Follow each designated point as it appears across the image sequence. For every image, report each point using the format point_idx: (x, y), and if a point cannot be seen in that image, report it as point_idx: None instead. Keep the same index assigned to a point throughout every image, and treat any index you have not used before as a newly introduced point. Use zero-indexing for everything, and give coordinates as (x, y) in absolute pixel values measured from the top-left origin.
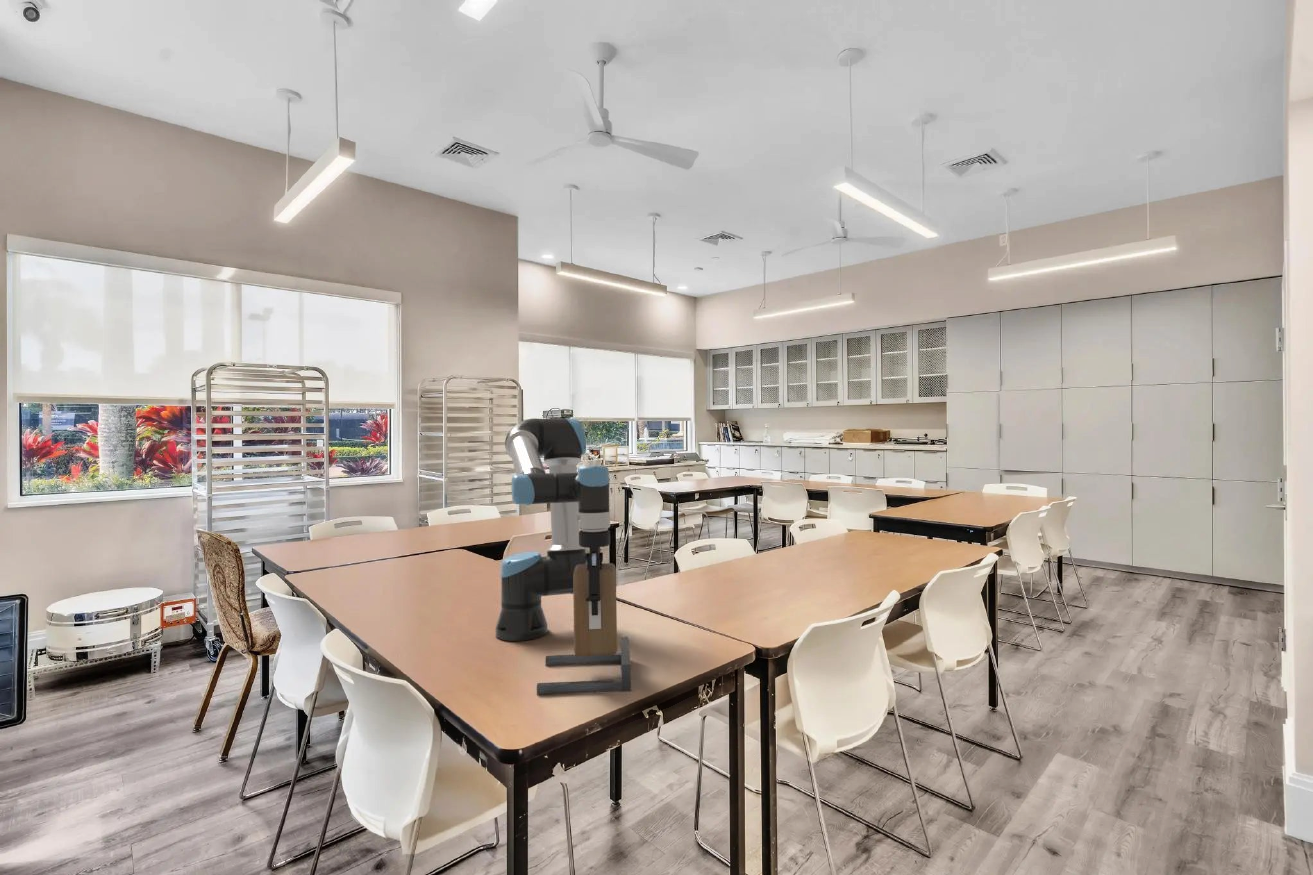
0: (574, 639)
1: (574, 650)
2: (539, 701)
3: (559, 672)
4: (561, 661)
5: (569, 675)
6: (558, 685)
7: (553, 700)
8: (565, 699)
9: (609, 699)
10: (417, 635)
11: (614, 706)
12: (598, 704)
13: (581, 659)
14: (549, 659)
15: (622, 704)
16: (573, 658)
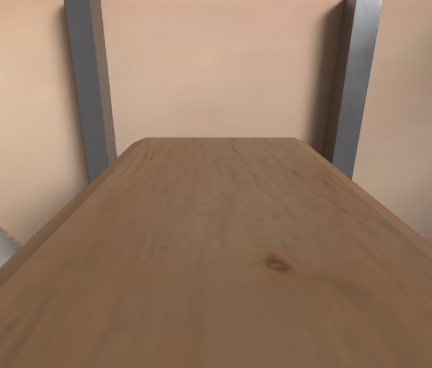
0: (126, 154)
1: (139, 141)
2: (26, 11)
3: (267, 60)
4: (341, 61)
5: (235, 97)
6: (74, 71)
7: (37, 58)
8: (47, 96)
9: (54, 213)
10: None
11: (13, 224)
12: (21, 187)
13: (331, 135)
14: (351, 11)
15: (27, 241)
16: (338, 108)
